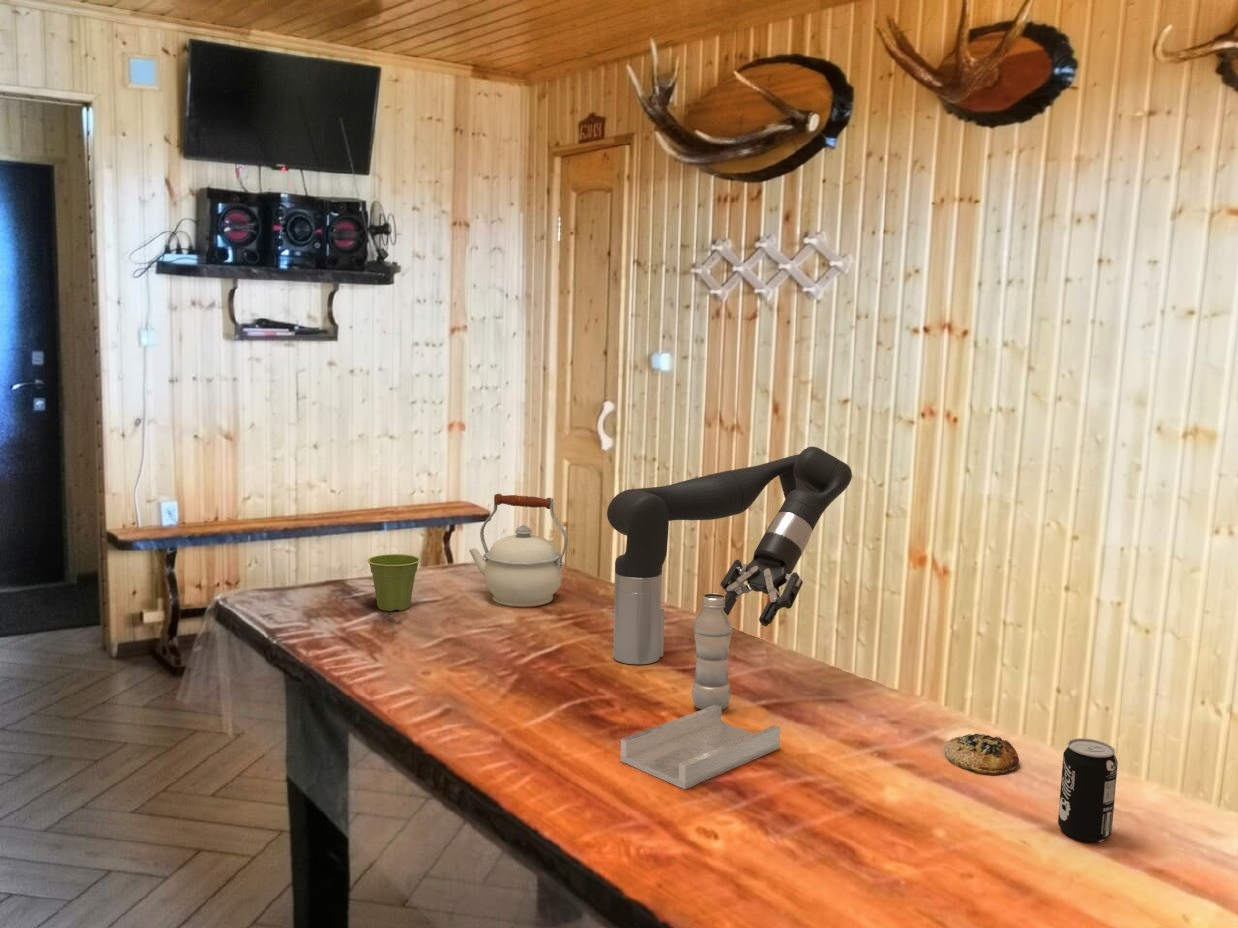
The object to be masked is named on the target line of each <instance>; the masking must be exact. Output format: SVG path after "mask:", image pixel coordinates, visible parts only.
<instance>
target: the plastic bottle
mask: <svg viewBox="0 0 1238 928" xmlns="http://www.w3.org/2000/svg"><path fill="white" fill-rule="evenodd" d="M701 607H702V610H701V611H700V613H698V615H697V617H695V619H694V623H693V626H692V627H693V635H694V644H695V656H696V657H695V662H696V663H695V670H694V671H695V672H694V680H693V683H692V688H691V697H692V698H691V699H692V703H693V704H694V706H695V708H696V709H699V710H703V709H705V708H708V707H711V706H714V705H718V706H721V707H722V710H721V711H723V710H725V709H726V708H727V707H729V705H730V700H731V695H732V694H731V686H730V683H729V681H730V680H729V670H728V669H729V667H728V664H729V661H728V660H729V659H728V658H729V652H730V651H729V649H730V644H731V637H732V630H733V626H732V625H733V624H732V622H731V620H730V618H729V615H728V616H727V615H726V613H725V612H724V610H723V608H725V594H722V593H713V592H712V593H705V594H703V595H702V603H701Z"/></svg>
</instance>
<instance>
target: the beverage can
mask: <svg viewBox="0 0 1238 928" xmlns="http://www.w3.org/2000/svg"><path fill="white" fill-rule="evenodd" d="M1115 754H1116V749H1115V748H1114V747H1113V746H1112V745H1110V744H1108V743H1106V742H1104V741H1101V740H1098V739H1093V738H1072V739H1070V740H1068V741H1067V747H1066V749H1065V750H1064V751H1063V756H1062V766H1061V767H1062V768H1061V780H1060V793H1059V803H1058V804H1059V806H1058V818H1057V824H1058V826H1059V828H1060V829H1061V831H1062V832H1063V833H1064V834H1065V835H1066V836H1067V837H1070V838H1072V839H1074V840H1077V841H1080V842H1086V843H1101V842H1103V841H1106V839H1108V838H1109V837H1111V835H1112V832H1113V821H1114V810H1115V809H1114V808H1115V799H1116V798H1115V797H1116V787H1117V776H1118V764H1119V762H1118V758H1117V757H1116V755H1115Z"/></svg>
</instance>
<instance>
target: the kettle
mask: <svg viewBox="0 0 1238 928" xmlns="http://www.w3.org/2000/svg"><path fill="white" fill-rule="evenodd" d="M554 500H555V499H554V498H552V497H547V498H543V497H538V496H528V495H516V494H511V495H509V494H508V495H503V494H502V493H494V495H493V509H492V512H491V513H490V515H488V517H487V518H486V519H485V521H484V522H483V523H482V525H481V528H480V532H479V533H480V534H479V536H480V537H479V538H480V541H481V546H482V548H483V550H484V554H483V555H482V554H481V553H480V552H479V550H478V549H477V548H475V547H474V548H469V549H468V551H469V553H470V556H471V557H472V559H473V561H474V564H475V565H476V567H477V569H478V570H479V572H480V574H481V575H482V576H483V577H484V583H485V586H486V588H487V590H488V591H489V592H490V593H491V594H492V600H493V601H494V602H495V603H497V604H499V605H502V606H506V607H512V608H513V607H514V608H529V607H530V608H532V607H538V606H540V607H541V606H543V605H546V604H549V603H550V602H552V601H553V599H554V596H553V595H554V594H555V593H556V591H558V589H559V588H560V586H561V584H562V581H563V573H562V572H563V571H562V567H563V566H565V562H563V557H564V555H565V553H566V551H567V547H568V543H569V542H568V541H569V540H568V534H567V532H566V530H565V527H563V525H562V523H560V521H559V520H558V519H557V517H556V515H555V512H554V511H555V509H554V506H555V503H554ZM500 505H508V506H512V507H523V508H524V507H525V508H532V509H533V508H535V509H536V508H545V509H547V510H550V512H549V513H550V516H551V517H550V518H551V519H552V521H553V522H554V523H555V525H556V526H557V527H558V528H559V530H560V531H561V534H562V536H563V539H564V543H563V548H562V551H561V553H560V552H559V551H558V549H556V546H555V545H554V544H553V542H552V541H550V540H549V539H547V538H545V537H542V536H538V535H533V534H532V533H533V531H532V530H531V528H530V527H529V526H526V525H525V524H522V525H520V526H518V527H517V528H516V529H515V531H514V533H515V535H506V536H505V537H502V538H500V539H498V540H496V541H495V542H494V543H493V544H492V546H491V547H490V549H489V548H488V546H487V543H486V542H487V541H486V539H485V534H484V533H485V532H484V531H485V527H486V526H487V524H488V523H489V521H490V520H491V519H492V517H493V516H494V515H495V514H496V513H497V511H498V506H500Z"/></svg>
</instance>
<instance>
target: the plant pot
mask: <svg viewBox="0 0 1238 928" xmlns="http://www.w3.org/2000/svg"><path fill="white" fill-rule="evenodd" d="M421 560H422V559H421V558H420V557H419V556H415V555H412V554H406V553H405V554H403V553H402V554H401V553H388V554H379V555H373V556H371V557H369V558H367V560H366V562H367V563H368V564H369V566H370V572H371V573H372V579H373V580H372V581H373V587H374V592H375V593H374V594H375V598H376V605H377V608H378V609H379V610H381V611H387V612H392V611H396V610H398V611H404V610H407V609H409V608H410V606H411V602H412V595H413V590H414V583H415V578H416V572H417V571H418V566H419V563H420V562H421Z"/></svg>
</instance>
